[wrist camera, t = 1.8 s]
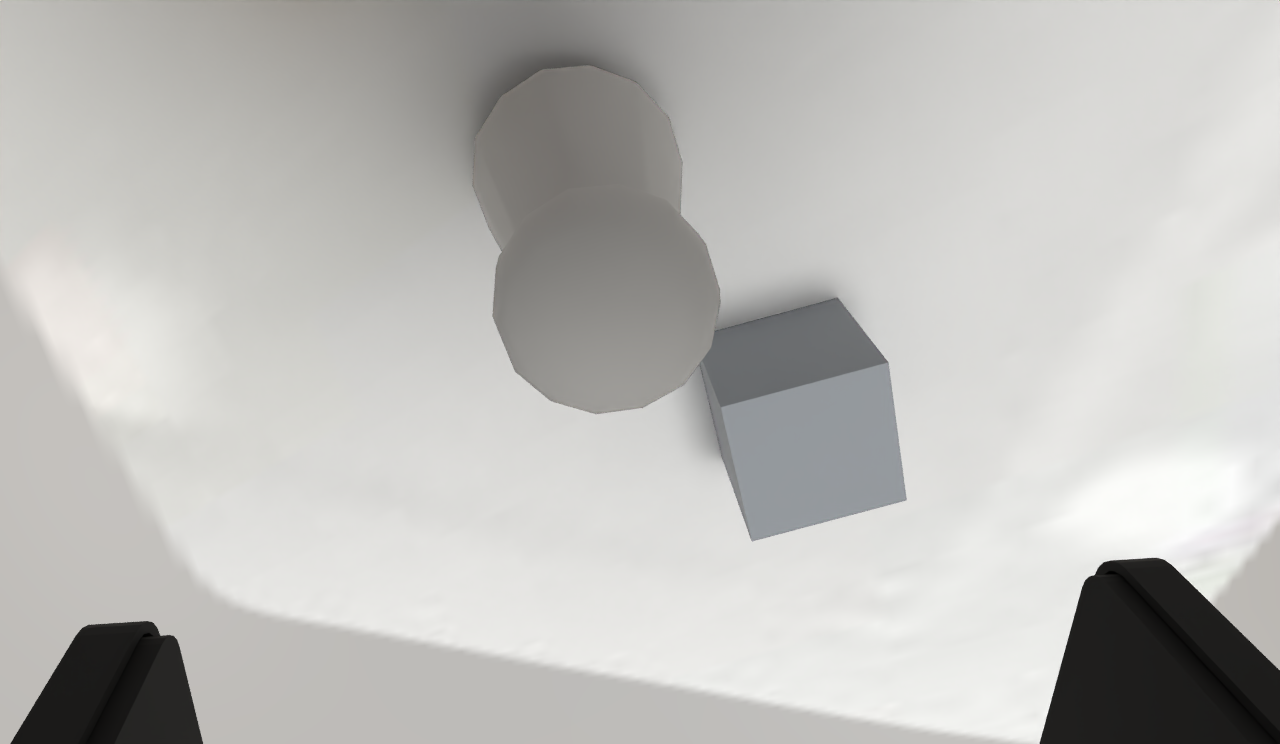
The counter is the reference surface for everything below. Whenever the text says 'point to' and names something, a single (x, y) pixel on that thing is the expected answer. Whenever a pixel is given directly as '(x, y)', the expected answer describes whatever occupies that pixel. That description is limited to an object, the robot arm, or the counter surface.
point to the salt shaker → (593, 241)
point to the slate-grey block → (803, 418)
